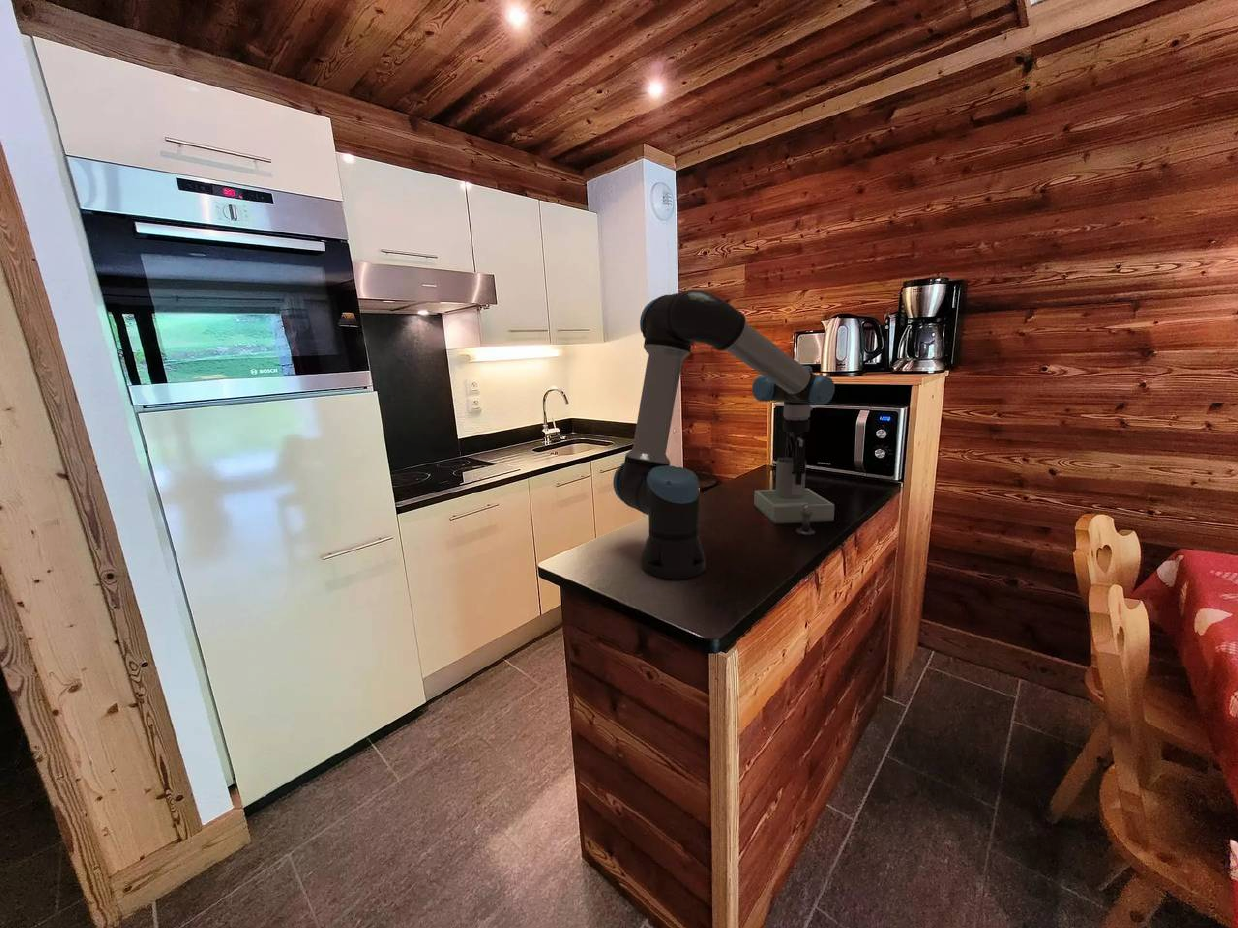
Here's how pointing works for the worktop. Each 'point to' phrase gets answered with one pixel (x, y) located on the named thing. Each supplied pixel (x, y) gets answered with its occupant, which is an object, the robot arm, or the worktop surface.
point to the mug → (786, 479)
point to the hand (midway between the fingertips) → (792, 489)
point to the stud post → (806, 520)
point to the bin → (792, 507)
